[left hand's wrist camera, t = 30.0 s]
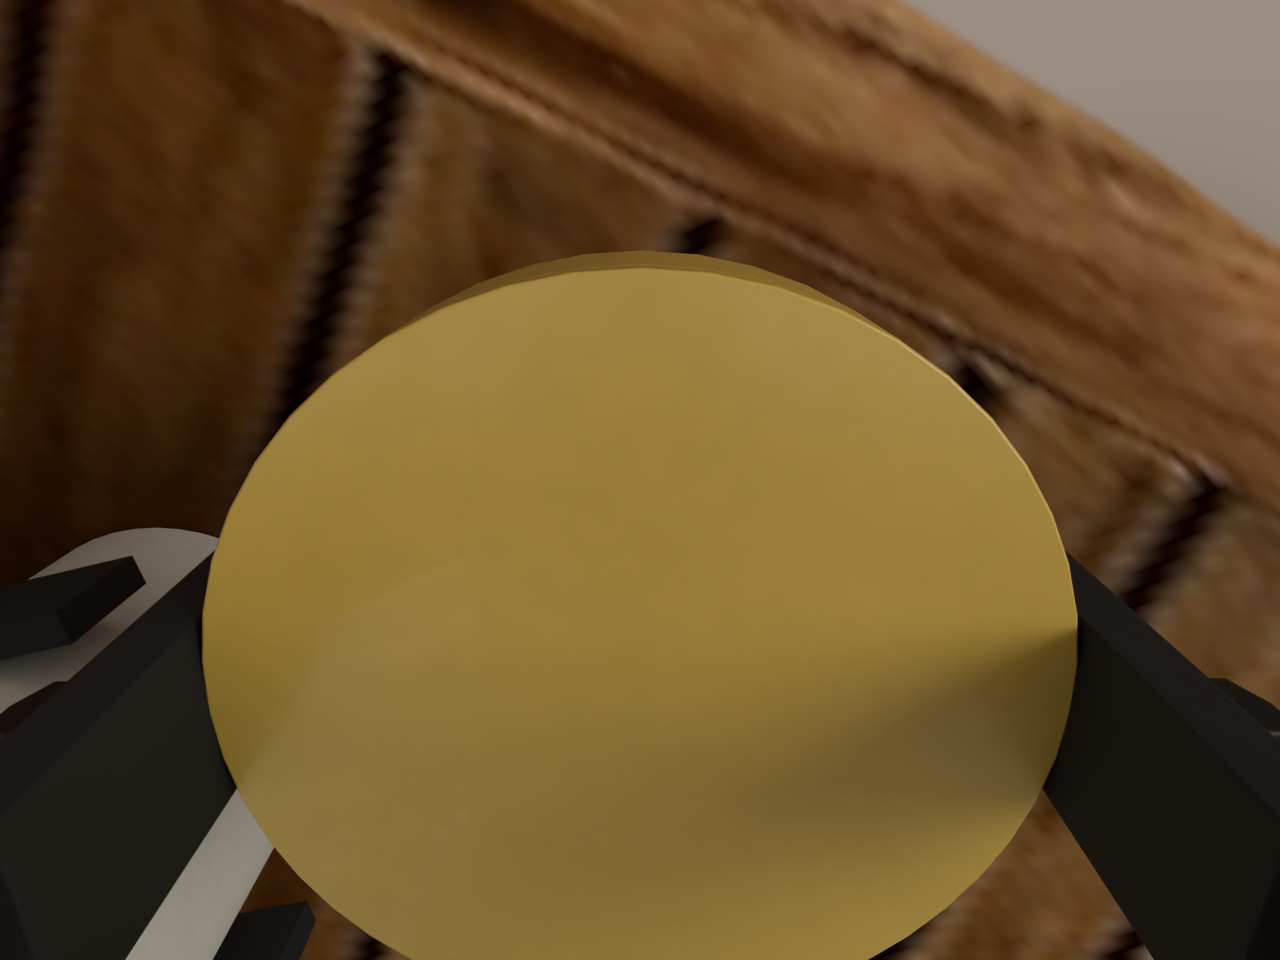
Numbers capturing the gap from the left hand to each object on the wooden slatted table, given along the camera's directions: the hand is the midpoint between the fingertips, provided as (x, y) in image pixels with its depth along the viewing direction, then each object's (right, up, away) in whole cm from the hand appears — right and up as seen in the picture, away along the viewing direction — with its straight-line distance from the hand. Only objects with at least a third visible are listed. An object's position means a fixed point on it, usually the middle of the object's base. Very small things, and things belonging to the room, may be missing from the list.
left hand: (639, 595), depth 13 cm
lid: (0, -1, -3) cm, 3 cm away
